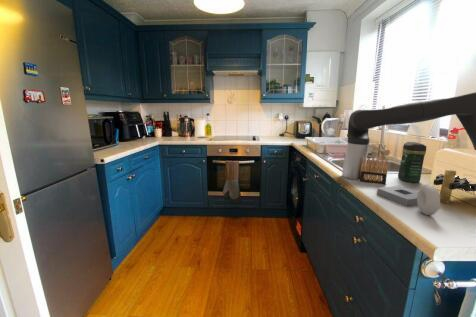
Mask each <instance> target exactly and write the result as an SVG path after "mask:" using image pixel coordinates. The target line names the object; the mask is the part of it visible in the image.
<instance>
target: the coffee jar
mask: <svg viewBox="0 0 476 317" xmlns="http://www.w3.org/2000/svg"><path fill="white" fill-rule="evenodd" d="M426 153H427V145H425V144H422V143H420V142H416V141H406V142H405V143H403V145H402V154H401V160H400V164H399V170H398V174H397V177H398V178H399V179H400V180H401V181H404V182H409V183H420V182H421V178H422V172H423V171H422V170H423V167H424V166H423V165H424V159H425V155H426Z"/></svg>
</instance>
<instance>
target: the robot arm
mask: <svg viewBox="0 0 476 317" xmlns="http://www.w3.org/2000/svg"><path fill="white" fill-rule="evenodd" d="M453 115H455V116H456V117H457V119H458V121H459V122H460V123H461V126H462V127H463V128H464V130H465V132H466V134H467V135H468V138H469V140H470V142H471V145H472V146H473V149H474V151H475V150H476V91H474V92H470V93H466V94H461V95H458V96H457V95H456V96H452V97H447V98H445V97H444V98H434V99H427V100H426V99H425V100H418V101H417V100H416V101H411V102H405V103H402V104H397V105H394V106H391V107H387V108H378V109H356V110H354V111H353V112H352V113H351V114H350V115H349V118H348V124H347V126H348V127H347V145H346V153H345V156H344V158H343V164H342V173H341V175H342V176H343V177H344V178H346V179H350V180H357V181H359V178H360V173H361V166H362V162H363V159H364V157H365V158H366V162H365V168H366V164H367V160H368V152H369V145H370V137H369V130H370V129H373V128H376V127H381V126H383V127H384V126H388V125H389V126H391V125H405V124H406V125H407V124H414V123H422V122H427V121H432V120H436V119H441V118H443V117H447V116H448V117H449V116H453ZM443 178H444V174H443V173H440V174H439V173H438V175H436V176H435V179H433V186H442V182H443ZM470 186H471V188H470ZM449 189H451V190H452V191H454V190H459V191H460V190H461V191H463V189H464V190H465V191H464V192H476V184H469V182H468V181H467V179H466V178H463V179H460V178H459V176H455V180H454V183H450V185H449Z"/></svg>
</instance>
